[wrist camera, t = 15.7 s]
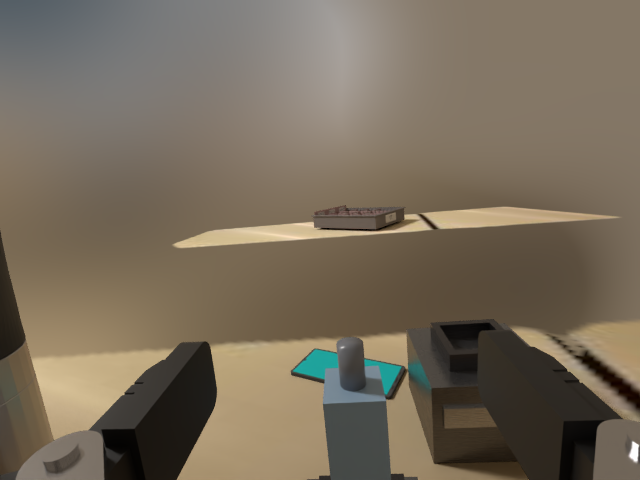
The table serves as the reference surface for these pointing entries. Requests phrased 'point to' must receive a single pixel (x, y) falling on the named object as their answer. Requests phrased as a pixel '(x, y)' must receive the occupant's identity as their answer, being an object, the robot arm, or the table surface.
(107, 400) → the table surface
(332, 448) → the plug
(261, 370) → the table surface
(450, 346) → the box with square opening
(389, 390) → the smartphone
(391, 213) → the organizer tray
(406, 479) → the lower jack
